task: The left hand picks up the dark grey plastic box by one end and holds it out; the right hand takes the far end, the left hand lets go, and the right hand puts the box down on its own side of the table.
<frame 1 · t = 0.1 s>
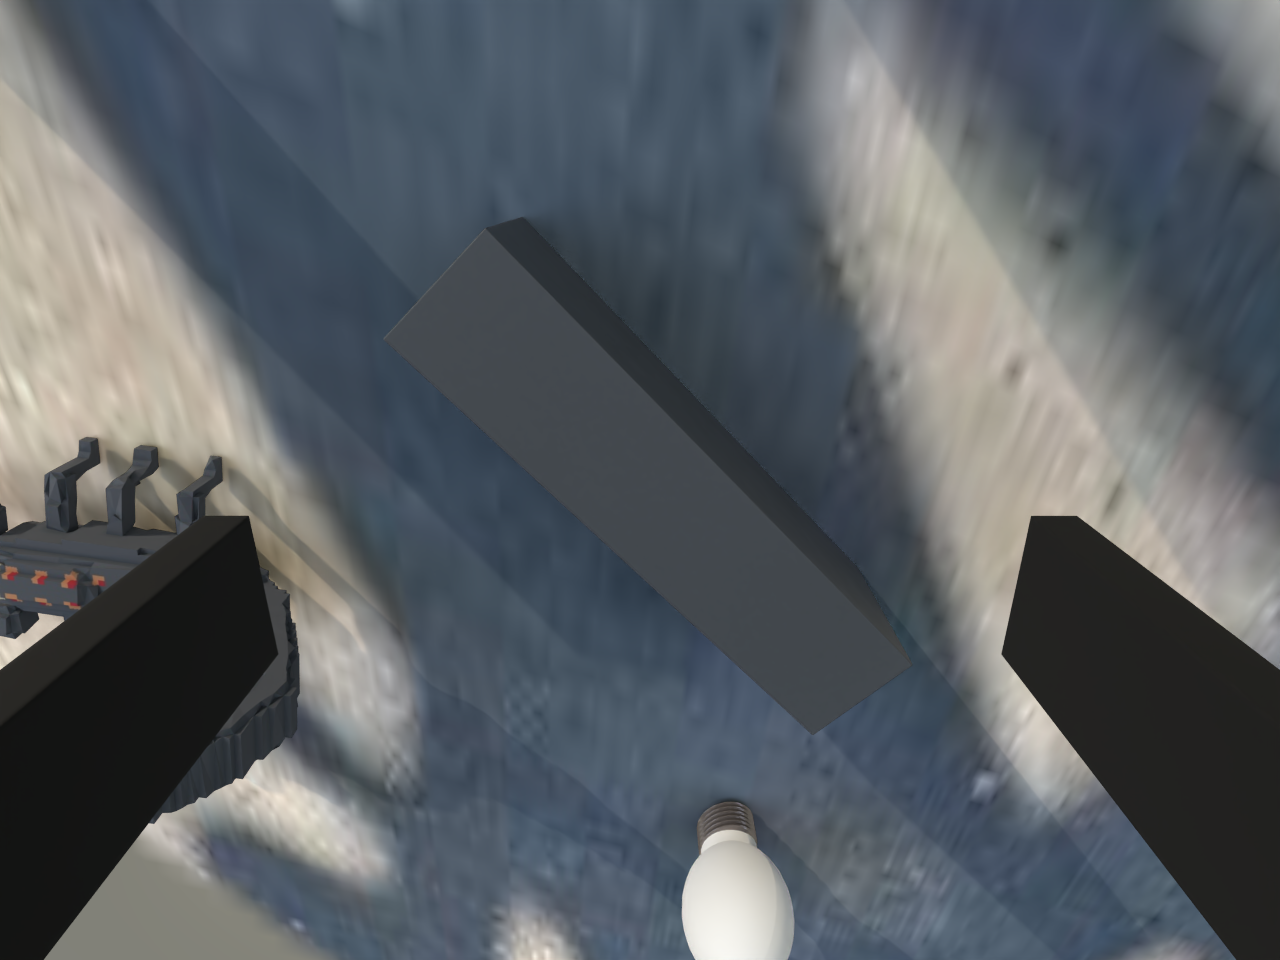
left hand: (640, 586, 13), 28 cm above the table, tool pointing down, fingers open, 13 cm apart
box: (664, 445, 41), on the table
light bulb: (725, 821, 52), on the table
toy: (140, 540, 43), on the table
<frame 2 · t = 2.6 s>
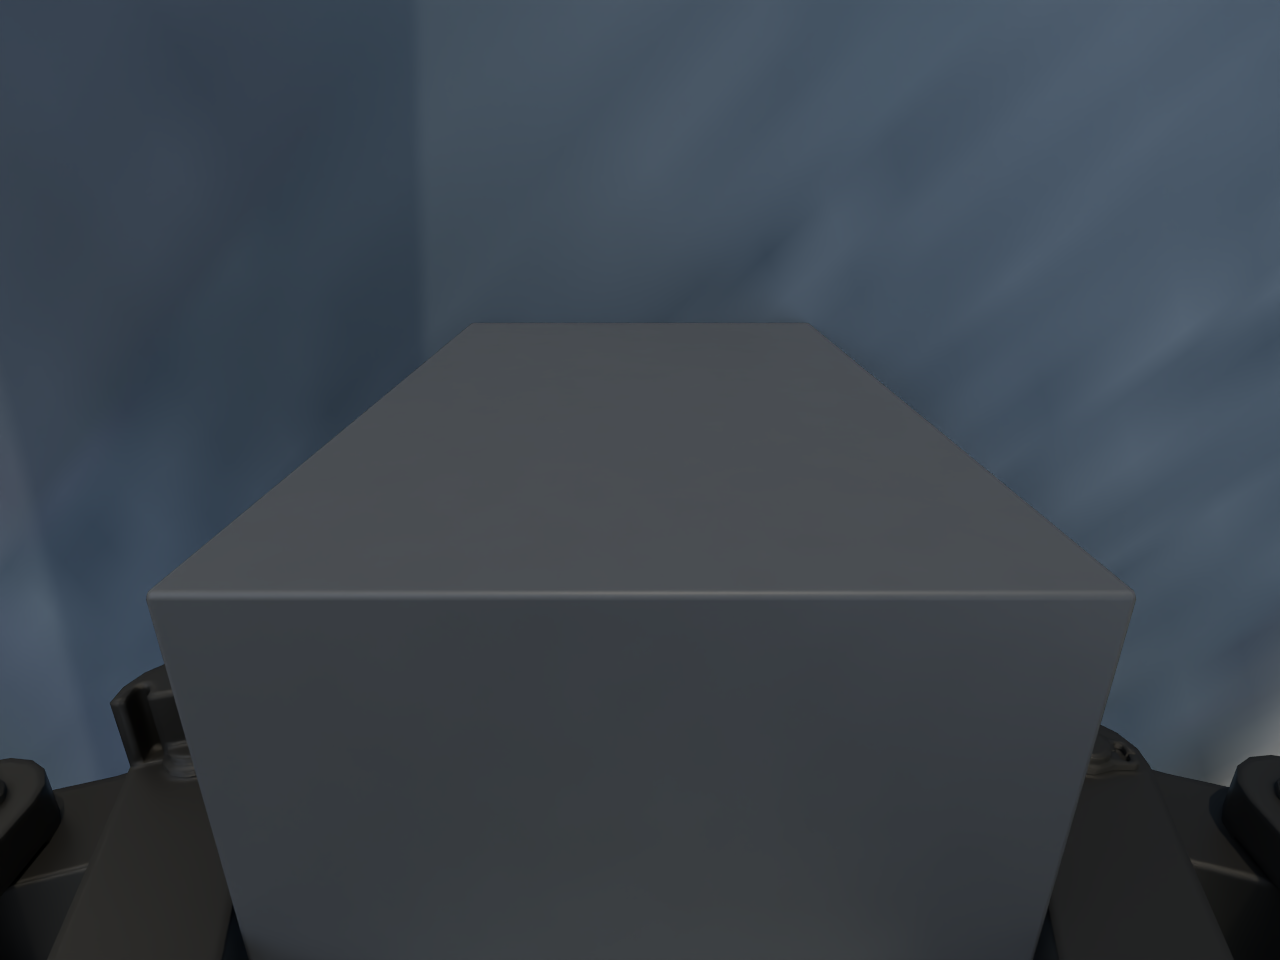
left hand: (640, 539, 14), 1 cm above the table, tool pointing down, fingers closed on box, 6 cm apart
box: (640, 876, 18), on the table, touching left hand
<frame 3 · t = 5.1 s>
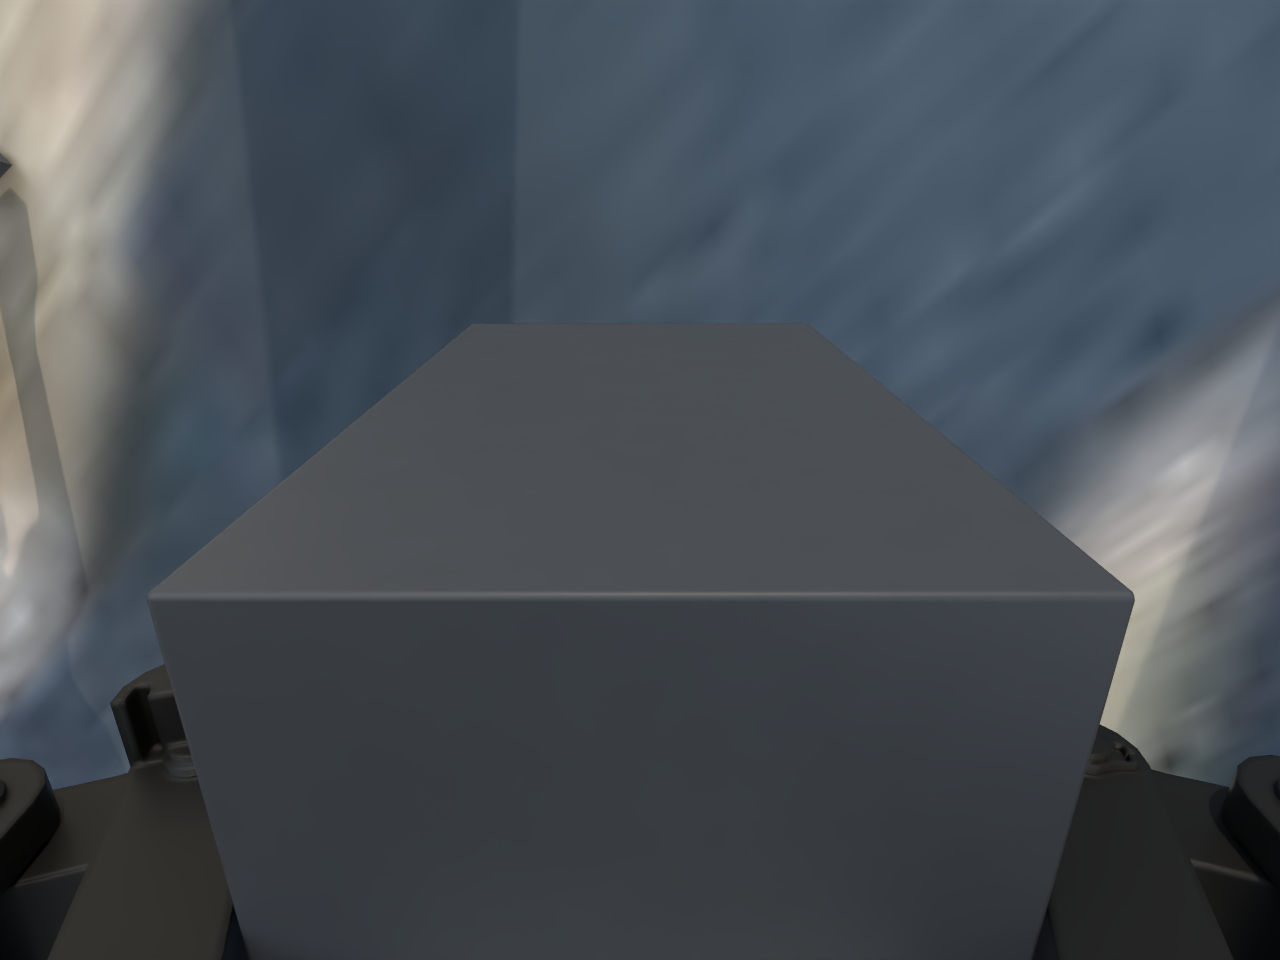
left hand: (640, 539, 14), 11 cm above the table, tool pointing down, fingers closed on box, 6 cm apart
box: (640, 876, 18), point 10 cm above the table, touching left hand
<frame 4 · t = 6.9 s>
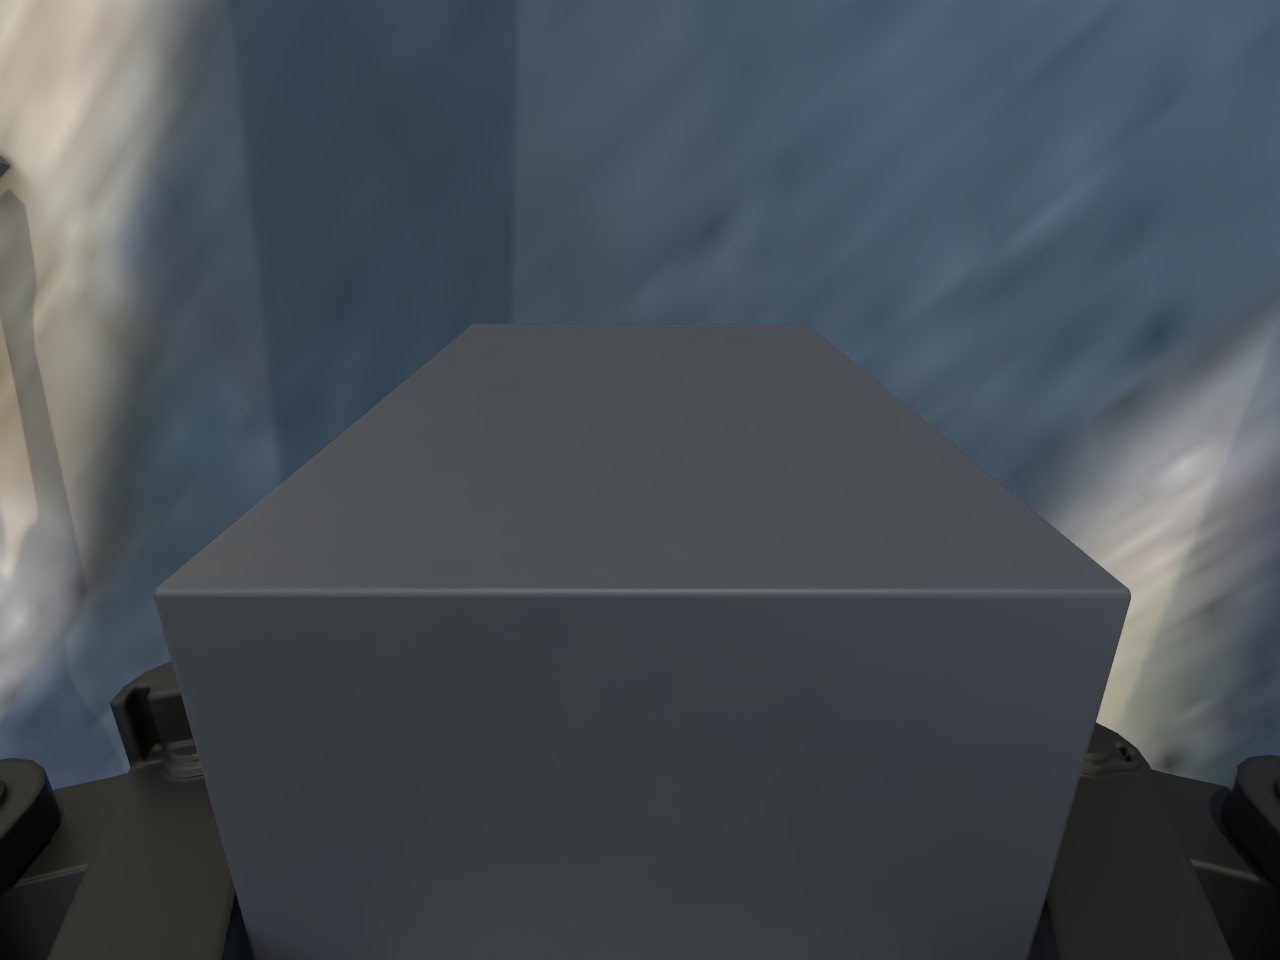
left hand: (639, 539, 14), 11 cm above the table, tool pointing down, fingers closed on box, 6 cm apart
box: (639, 875, 18), point 10 cm above the table, touching left hand, right hand
when the left hand's fingers open (11 cm above the table, at t = 7.8 s): box stays where it is, held by the right hand.
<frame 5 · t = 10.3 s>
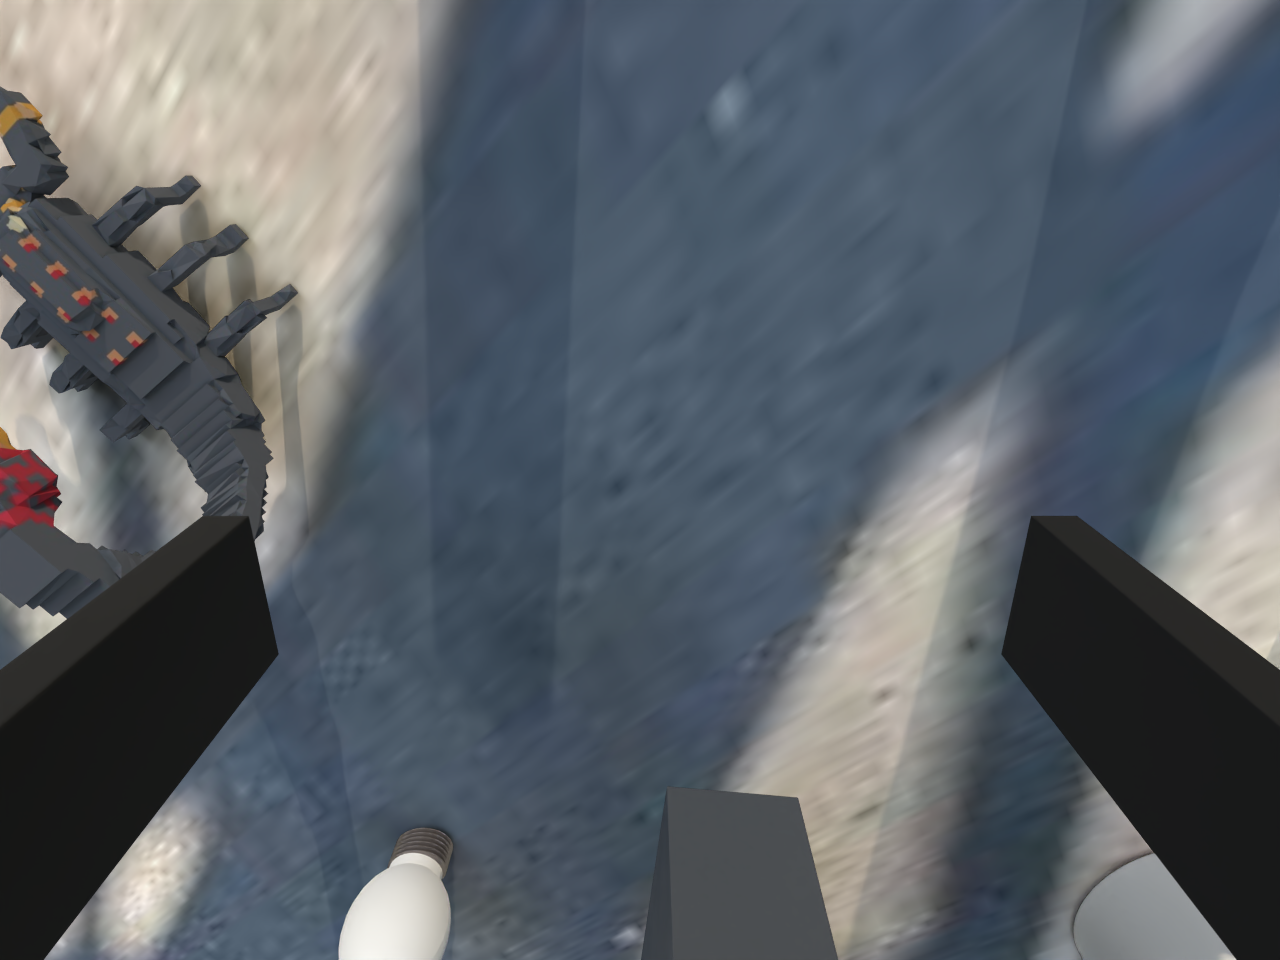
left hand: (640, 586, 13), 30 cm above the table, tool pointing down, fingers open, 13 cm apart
light bulb: (425, 844, 55), on the table
toy: (150, 286, 40), on the table
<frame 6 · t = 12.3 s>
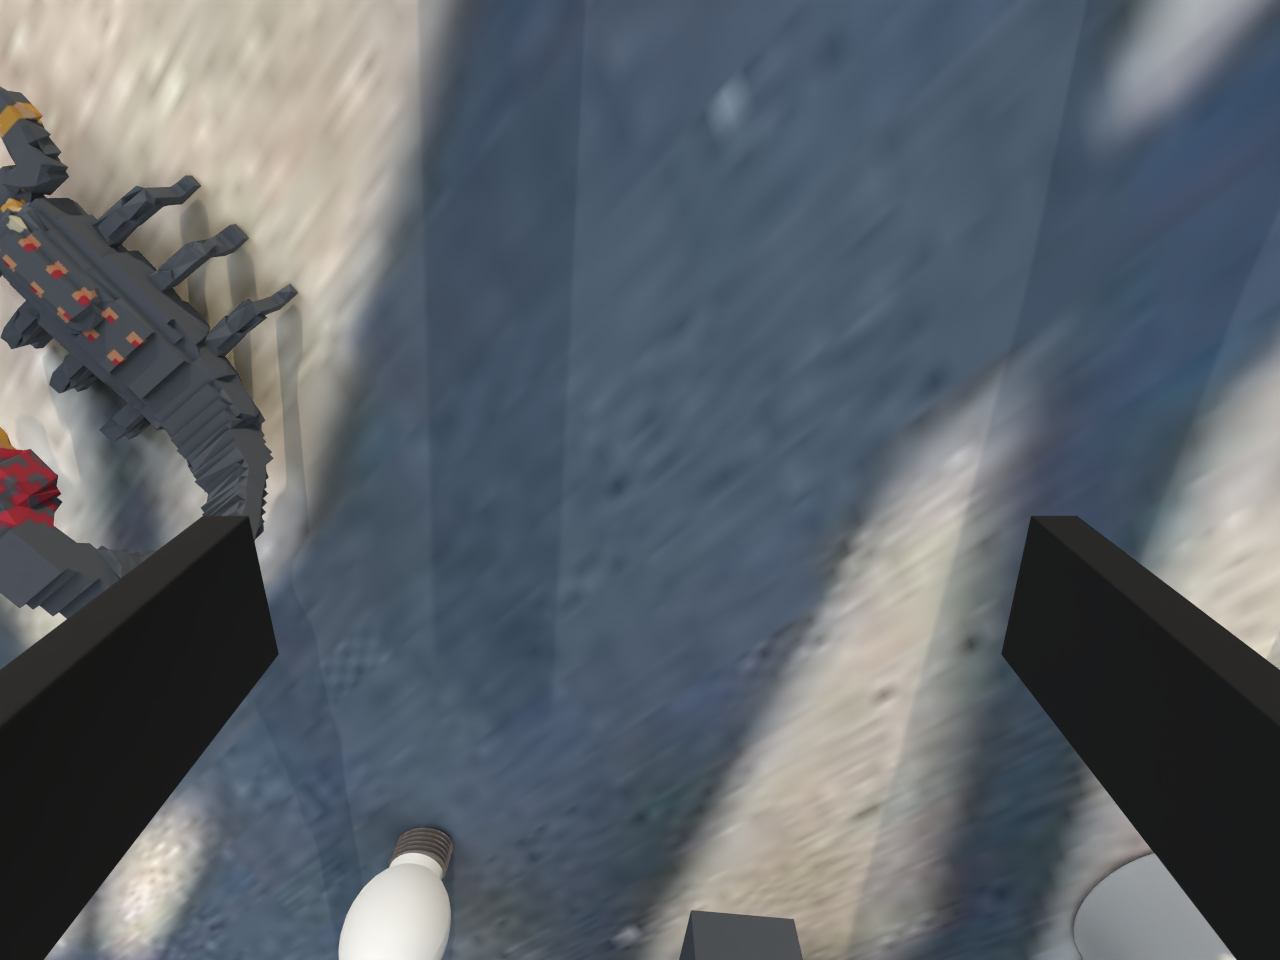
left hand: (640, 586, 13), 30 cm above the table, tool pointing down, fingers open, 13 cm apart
light bulb: (425, 844, 55), on the table
toy: (150, 286, 40), on the table
when the right hand's fingers open (5 cm above the table, at t = 13.7 s): box stays where it is, on the table.
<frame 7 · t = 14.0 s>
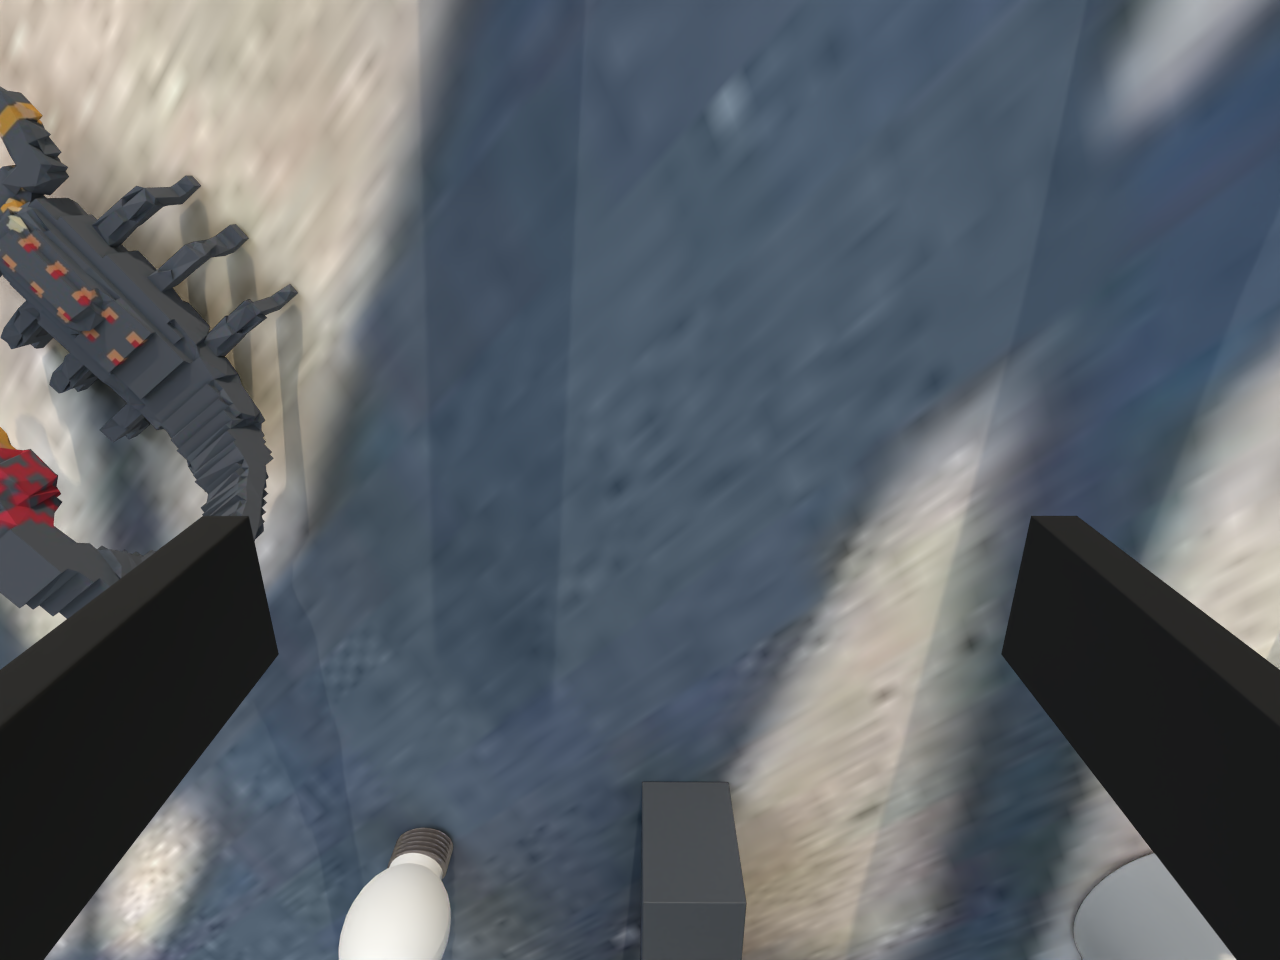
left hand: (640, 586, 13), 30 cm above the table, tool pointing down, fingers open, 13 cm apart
box: (680, 918, 57), on the table
light bulb: (425, 844, 55), on the table
toy: (150, 286, 40), on the table
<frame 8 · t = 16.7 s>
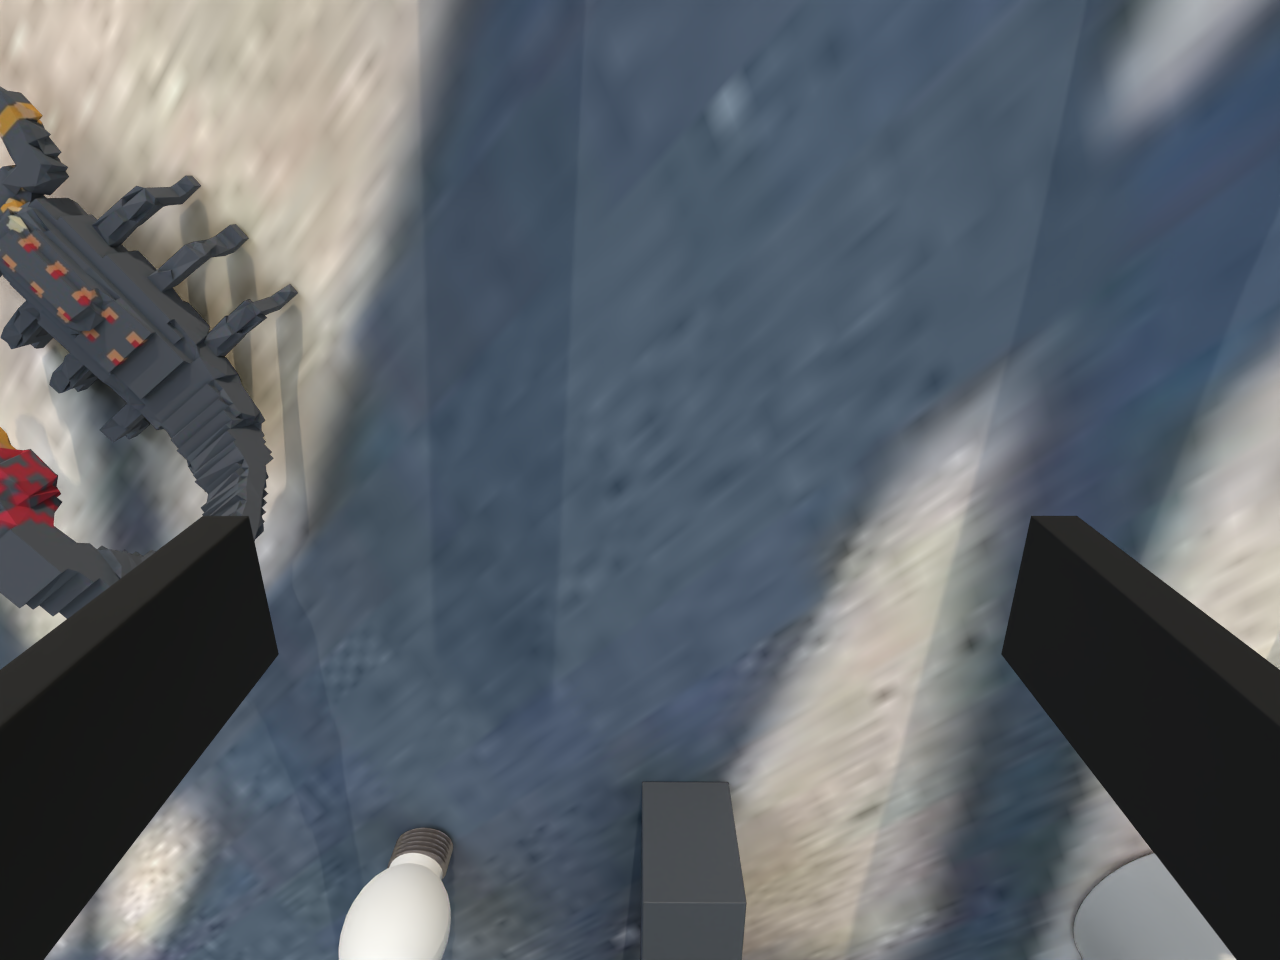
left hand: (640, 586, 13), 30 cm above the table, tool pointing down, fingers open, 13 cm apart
box: (680, 918, 57), on the table
light bulb: (425, 844, 55), on the table
toy: (150, 286, 40), on the table
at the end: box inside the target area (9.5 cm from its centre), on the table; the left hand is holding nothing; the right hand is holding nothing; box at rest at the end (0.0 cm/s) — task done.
